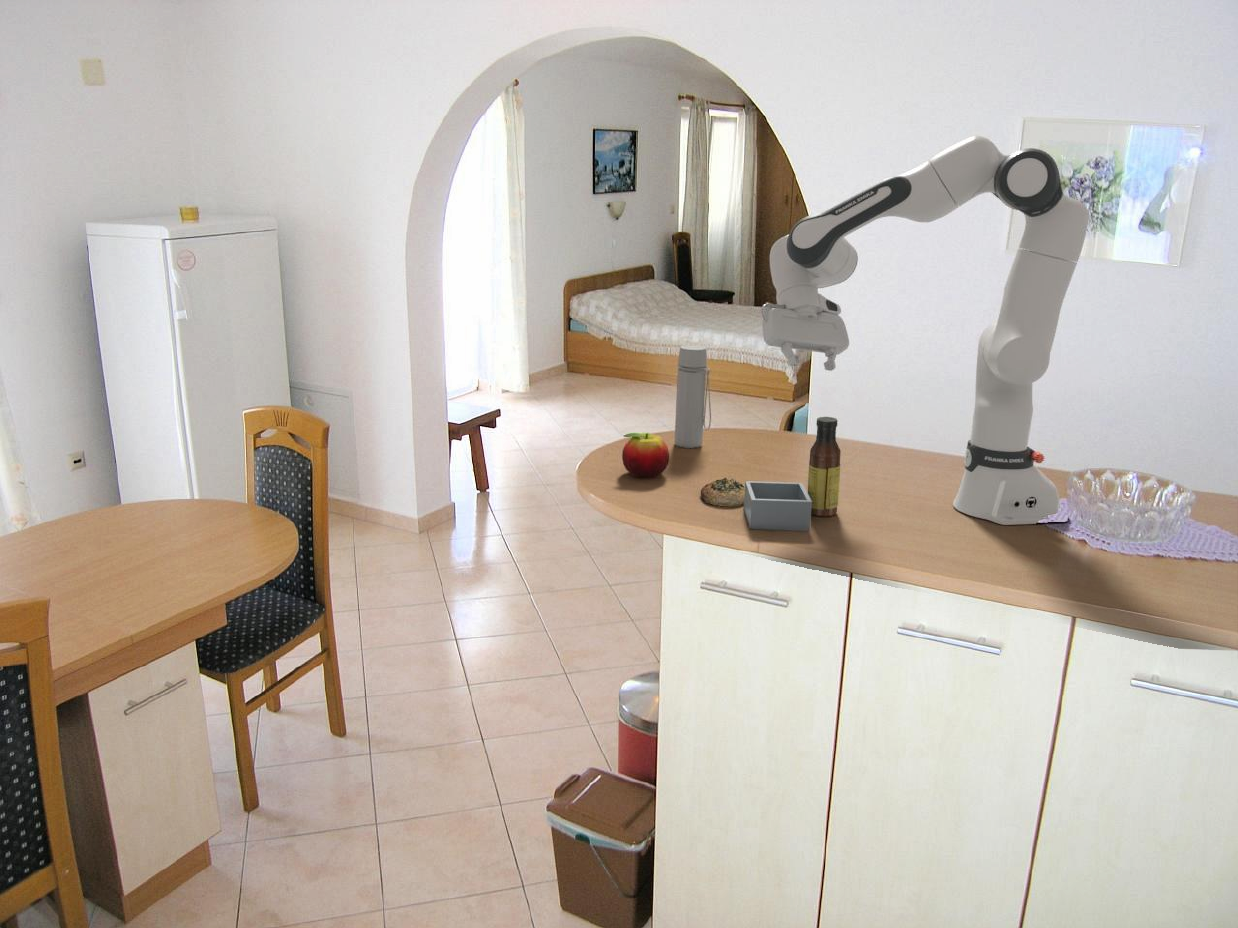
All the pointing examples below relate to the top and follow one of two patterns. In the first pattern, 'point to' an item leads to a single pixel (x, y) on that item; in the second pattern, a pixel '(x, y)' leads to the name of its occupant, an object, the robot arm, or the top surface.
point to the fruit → (645, 455)
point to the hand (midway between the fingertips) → (812, 367)
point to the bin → (777, 506)
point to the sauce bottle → (824, 469)
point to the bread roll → (723, 493)
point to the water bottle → (691, 396)
